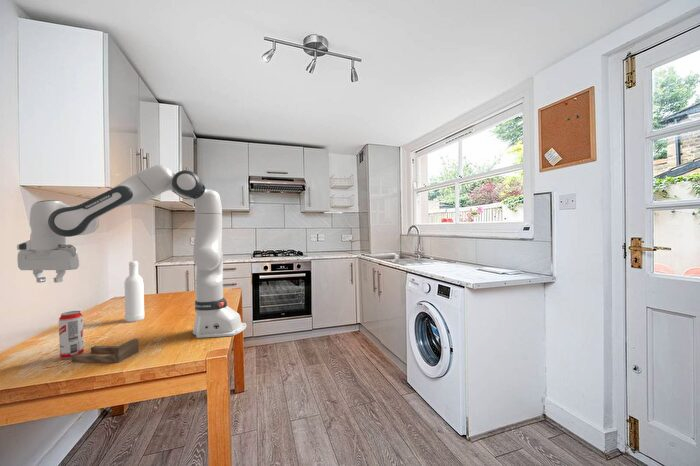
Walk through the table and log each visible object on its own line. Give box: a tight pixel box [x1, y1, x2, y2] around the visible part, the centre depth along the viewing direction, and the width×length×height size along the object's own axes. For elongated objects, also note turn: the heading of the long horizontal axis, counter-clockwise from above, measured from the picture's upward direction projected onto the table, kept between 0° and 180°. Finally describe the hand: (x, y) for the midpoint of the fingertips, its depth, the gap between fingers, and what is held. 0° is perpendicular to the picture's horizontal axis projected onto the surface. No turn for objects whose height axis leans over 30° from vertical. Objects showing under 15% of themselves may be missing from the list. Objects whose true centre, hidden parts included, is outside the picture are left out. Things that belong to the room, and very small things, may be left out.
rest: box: [71, 338, 140, 363], centre depth 102 cm, size 18×8×5 cm, turn 87°
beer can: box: [58, 310, 85, 360], centre depth 103 cm, size 6×6×16 cm
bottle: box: [123, 260, 146, 323], centre depth 144 cm, size 8×8×30 cm
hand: (49, 282), depth 103 cm, fingers open, 5 cm apart
